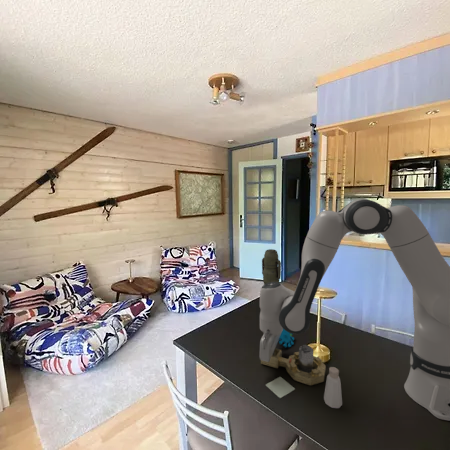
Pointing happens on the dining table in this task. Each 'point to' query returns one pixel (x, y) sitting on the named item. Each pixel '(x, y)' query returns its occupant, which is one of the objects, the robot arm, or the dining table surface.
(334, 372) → the salt shaker
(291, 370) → the octagonal ring with loop
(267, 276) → the thermos
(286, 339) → the gear
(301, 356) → the stud
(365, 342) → the dining table surface
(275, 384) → the pad
